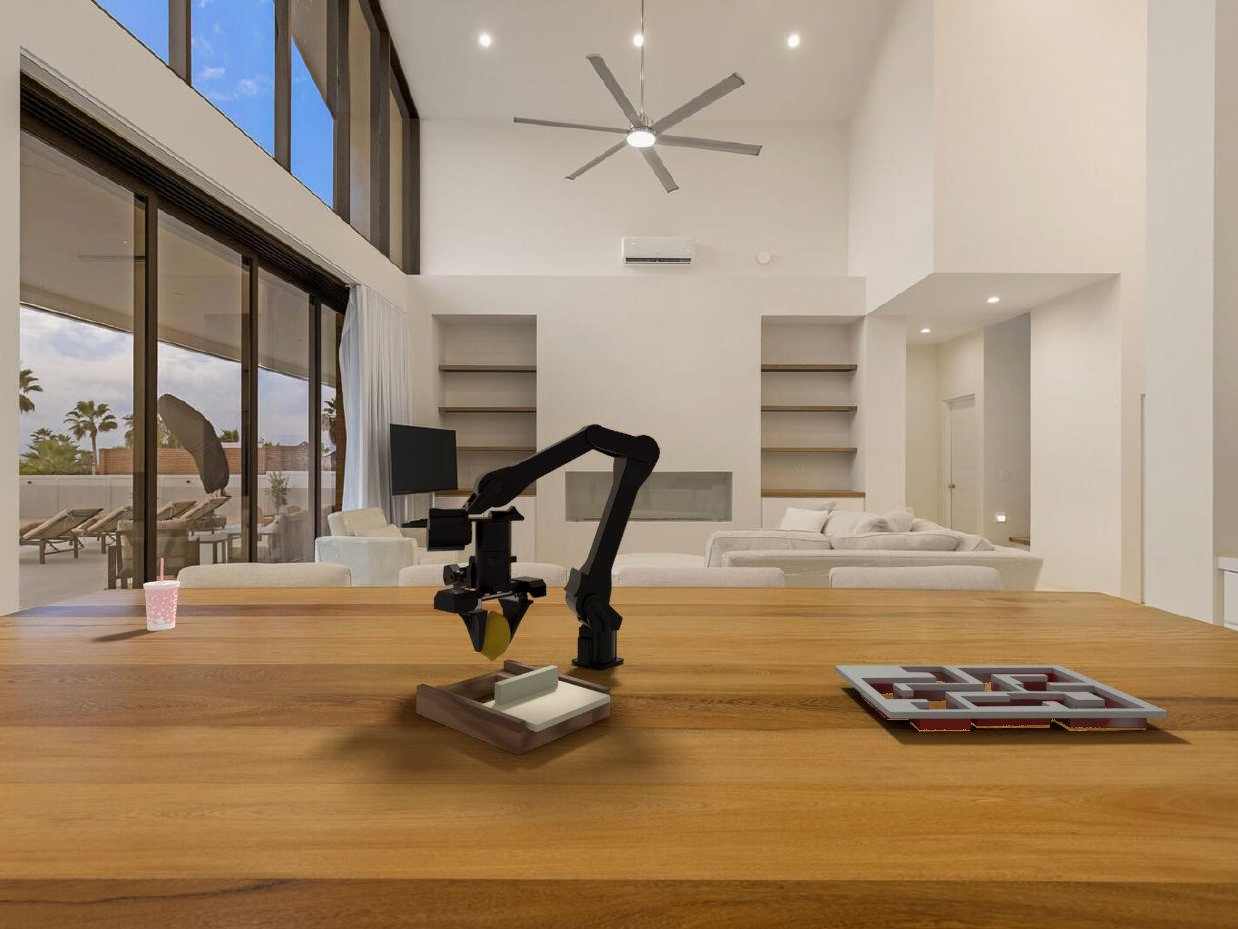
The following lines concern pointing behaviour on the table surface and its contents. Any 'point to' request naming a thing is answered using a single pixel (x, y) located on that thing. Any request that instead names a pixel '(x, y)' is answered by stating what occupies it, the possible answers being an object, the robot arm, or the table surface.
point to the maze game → (996, 696)
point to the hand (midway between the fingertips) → (492, 647)
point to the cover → (543, 698)
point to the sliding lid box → (495, 726)
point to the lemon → (495, 636)
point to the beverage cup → (161, 603)
